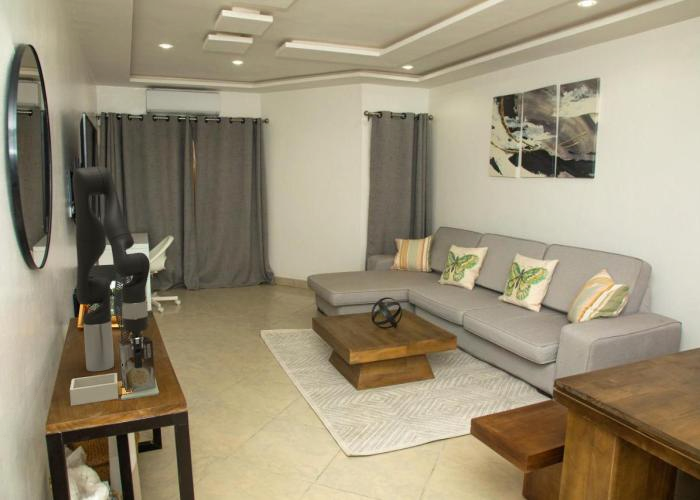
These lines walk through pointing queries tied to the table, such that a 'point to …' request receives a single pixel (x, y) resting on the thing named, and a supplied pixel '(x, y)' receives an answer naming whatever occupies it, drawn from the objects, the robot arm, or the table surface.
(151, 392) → the mat
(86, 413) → the table surface
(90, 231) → the robot arm
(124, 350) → the coffee box
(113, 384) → the open box
